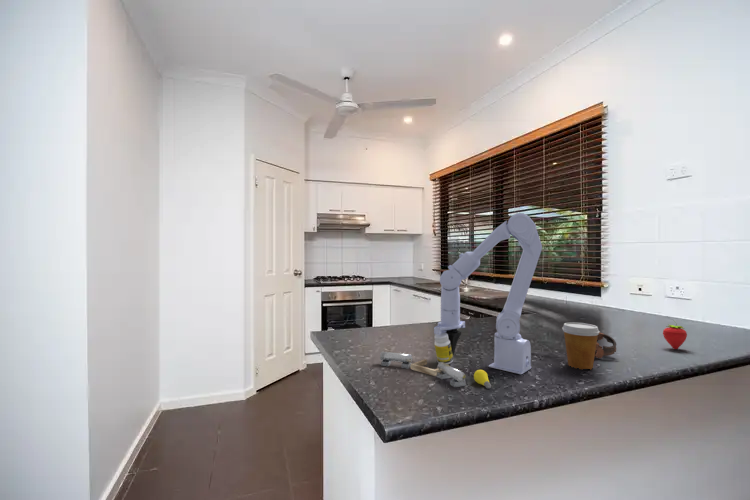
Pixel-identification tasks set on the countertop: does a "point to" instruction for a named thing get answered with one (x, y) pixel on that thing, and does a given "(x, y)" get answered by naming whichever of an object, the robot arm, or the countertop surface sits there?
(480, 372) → the light bulb
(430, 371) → the coupling seat
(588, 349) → the disposable coffee cup
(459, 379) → the shaft
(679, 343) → the strawberry
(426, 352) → the countertop surface
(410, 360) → the grey bar handle
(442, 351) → the supplement bottle
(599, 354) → the pottery mug
